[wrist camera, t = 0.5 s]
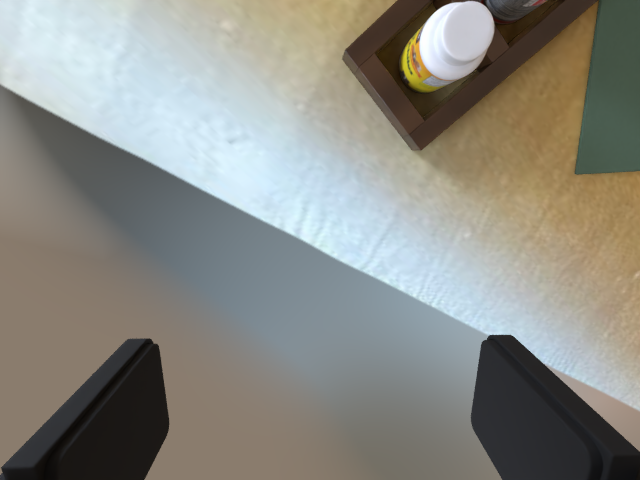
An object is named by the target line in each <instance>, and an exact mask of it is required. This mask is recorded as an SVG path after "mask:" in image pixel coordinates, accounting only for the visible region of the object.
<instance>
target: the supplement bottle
mask: <svg viewBox="0 0 640 480" xmlns="http://www.w3.org/2000/svg"><path fill="white" fill-rule="evenodd" d="M493 35H494V20H493V17H492V14H491V13H490V11H489V10H488V8H487V7H486V6H484V5H483V4H481V3H479V2H476V1H466V2H463V3H462V2H456V3H450V4H447V5H445V6H443V7H441V8H440V9H438V10H437V11H436V12H435V13H434V14H433V15H432V16H431V17H430V18H429V19H428V20H427V21H426V22H425V23H424V25H423V26H422V27H421V28H420V29H419V30H418V31H417V32H416V34H415V35H414V36H413V37H412V38H411V39H410V41H409V42H408V43H407V44H406V45H405V47H404V49H403V51H402V53H401V55H400V59H399V72H400V76H401V79H402V81H403V82H404V84H405V85H406V86H407V87H408V88H409V89H411V90H412V91H414V92H417V93H430V92H434V91H436V90H438V89H440V88H442V87H444V86H446V85H448V84H450V83H452V82H454V81H456V80H459V79H461V78H463V77H465V76H467V75H468V74H470V73H471V72H472V71H474V70H475V69H476V68H477V67H478V66H479V64H480V63H481V62H482V60H483V58H484V57H485V55H486V52H487V49H488V47H489V46H490V44H491V42H492V39H493Z"/></svg>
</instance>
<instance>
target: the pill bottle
mask: <svg viewBox="0 0 640 480" xmlns="http://www.w3.org/2000/svg"><path fill="white" fill-rule="evenodd" d="M546 1H548V0H480V2H481V3H482V4H483V5H484V6H486V7H487V8H488V10H489V11H490V13H491V14H492V17H493V20H494V23H498V24H509V23H513V22H515V21H517V20H519V19H521V18H522V17H524V16H525V15H527V14H528V13H530V12H531V11H533V10H534V9H536V8H537V7H539V6H540V5H542V4H543V3H545V2H546Z"/></svg>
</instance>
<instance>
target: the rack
mask: <svg viewBox="0 0 640 480" xmlns="http://www.w3.org/2000/svg"><path fill="white" fill-rule="evenodd" d="M466 1H476V2H479V3H481V2H480V0H397V1H396V2H395V3H394V4H393V5H392V6H391V7H390V8H389V9H388V10H387V11H386V12H385V13H384V14H383V15H382V16H381V17H379V18H378V19H377V20H376V21H375V22H374V23H373V24H372V25H371V26H370V27H369V28H368V29H367V30H366V31H365V32H364V33H363V34H361V35H360V36H359V37H358V38H357V39H356V40H355V41H354V42H353V43H352V44H351V45H350V46H349V47H348V48H347V49H346V50H345V52H344V55H343V58H342V60H343V61H344V62H345V64H346V65H347V66H348V67H349V69H350V70H351V71H352V73H353V74H354V75H355V77H356V78H357V79H358V81H359V82H360V83H361V85H362V86H363V87H364V88H365V90H366V91H367V92H368V94H369V95H370V96H371V98H372V99H373V100H374V102H375V103H376V104H377V105H378V107H379V108H380V109H381V111H382V112H383V113H384V115H385V116H386V117H387V119H388V120H389V121H390V122H391V124H392V125H393V126H394V128H395V129H396V130H397V132H398V133H399V134H400V135H401V136H402V138H403V139H404V141H405V142H406V143H407V145H408V146H409V147H410V148H411V150H412V151H416V150H422V149H423V148H424V147H426V146H427V145H428V144H429V143H430V142H431V141H433V140H434V139H435V138H436V137H437V136H438V135H440V134H441V133H442V132H443V131H444V130H446V129H447V128H448V127H449V126H450V125H451V124H453V123H454V122H455V121H456V120H457V119H459V118H460V117H461V116H462V115H463V114H464V113H466V112H467V111H468V110H469V109H470V108H471V107H473V106H474V105H475V104H476V103H477V102H479V101H480V100H481V99H482V98H483V97H484V96H486V95H487V94H488V93H489V92H490V91H492V90H493V89H494V88H495V87H496V86H497V85H499V84H500V83H501V82H502V81H503V80H504V79H506V78H507V77H508V76H509V75H510V74H512V73H513V72H514V71H515V70H516V69H517V68H519V67H520V66H521V65H522V64H523V63H524V62H526V61H527V60H528V59H529V58H530V57H532V56H533V55H534V54H535V53H536V52H537V51H539V50H540V49H541V48H542V47H543V46H545V45H546V44H547V43H548V42H549V41H550V40H552V39H553V38H554V37H555V36H556V35H557V34H559V33H560V32H561V31H562V30H563V29H565V28H566V27H567V26H568V25H569V24H570V23H572V22H573V21H574V20H575V19H576V18H577V17H579V16H580V15H581V14H582V13H583V12H585V11H586V10H587V9H588V8H589V7H590V6H592V5H593V4H594V3H595V2H596V1H598V0H558V1H557V2H556V3H555V4H554V5H552V6H551V7H550V8H549V9H548V10H547V11H546V12H544V13H543V14H542V15H541V16H540V17H539V18H537V19H536V20H535V21H534V22H533V23H532V24H531V25H529V26H528V27H527V28H526V29H525V30H524V31H522V32H521V33H520V34H519V35H518V36H517V37H516V38H514V39H513V40H512V41H511V42H510V43H509V44H507V43H506V41H505V40H504V38H503V37H502V35H501V33H500V32H499V30H498V29H497V27H496V26H495V24H494V35H493V39H492V42H491V44H490V46H489V47H488V49H487V52H486V55H485V57H484V58H483V60H482V62H481V63H480V64H479V66H478V67H477V68H476V69H477V71H476V72H475V73H474V74H473V75H472V76H470V77H469V78H468V79H467V80H466V81H465V82H464V83H462V84H461V85H460V86H459V87H458V88H457V89H455V90H454V91H453V92H452V93H451V94H450V95H449V96H447V97H446V98H445V99H444V100H443V101H442V102H440V103H439V104H438V105H437V106H436V107H435V108H434V109H432V110H431V111H430V112H429V113H428V114H427V115H425V116H424V117H423V118H422V117H421V115H420V114H419V113H418V111H417V110H416V109H415V107H414V106H413V104H412V103H411V102H410V100H409V99H408V98H407V96H406V95H405V94H404V92H403V91H402V90H401V88H400V87H399V85H398V84H397V83H396V81H395V80H394V79H393V77H392V76H391V75H390V73H389V72H388V71H387V69H386V68H385V67H384V65H383V64H382V62H381V61H380V60H379V58H378V57H377V56H376V55H377V54H378V53H379V52H380V51H381V50H382V49H383V48H384V47H385V46H386V45H387V44H389V43H390V42H391V41H392V40H393V39H394V38H395V37H396V36H397V35H398V34H399V33H400V32H401V31H403V30H404V29H405V28H406V27H407V26H408V25H409V24H410V23H411V22H412V21H413V20H414V19H416V18H417V17H418V16H419V15H420V14H421V13H422V12H423V11H424V10H425V9H426V8H427V7H429V6H430V5H431V4H432V3H433V5H434V6H435V8H436V9H437V10H438V9H440V8H441V7H443V6H445V5H447V4H450V3H456V2H462V3H463V2H466ZM481 4H482V3H481Z"/></svg>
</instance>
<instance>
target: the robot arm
mask: <svg viewBox="0 0 640 480" xmlns="http://www.w3.org/2000/svg"><path fill="white" fill-rule="evenodd" d="M471 422H472V426H473V429H474V431H475V433H476V435H477V436H478V438H479V440H480V442H481V444H482V445H483V447H484V449H485V450H486V452H487V454H488V456H489V457H490V459H491V461H492V462H493V464H494V466H495V467H496V469H497V471H498V473H499V474H500V476H501V478H502V480H640V452H639V451H638V450H637V449H636V448H635V447H634V446H633V445H632V444H631V443H629V442H628V441H627V440H626V439H625V438H624V437H623V436H622V435H621V434H620V433H618V432H617V431H616V430H615V429H614V428H613V427H612V426H611V425H610V424H609V423H607V422H606V421H605V420H604V419H603V418H602V417H601V416H600V415H599V414H598V413H597V412H596V411H594V410H593V409H592V408H591V407H590V406H589V405H588V404H587V403H586V402H585V401H583V400H582V399H581V398H580V397H579V396H578V395H577V394H576V393H575V392H573V390H571V389H570V388H569V387H568V386H567V385H566V384H565V383H564V382H563V381H562V380H560V379H559V378H558V377H557V376H556V375H555V374H554V373H553V372H552V371H550V369H548V368H547V367H546V366H545V365H544V364H543V363H542V362H541V361H540V360H539V359H538V358H536V357H535V356H534V355H533V354H532V353H531V352H530V351H529V350H528V349H527V348H525V347H524V346H523V345H522V344H521V343H520V342H519V341H518V340H517V339H516V338H515V337H513V336H512V335H490V336H488V338H487V340H484V341H483V342H482V344H481V351H480V358H479V364H478V371H477V379H476V385H475V392H474V399H473V406H472V413H471ZM168 429H169V417H168V409H167V401H166V394H165V387H164V380H163V373H162V365H161V357H160V351H159V346H158V345H157V344H153V341H152V340H151V339H128V340H127V341H125V342H124V343H123V344H122V345H121V346H120V347H119V348H118V349H117V350H116V351H115V352H114V354H113V355H111V356H110V358H108V360H107V361H106V362H105V363H104V364H103V365H102V366H101V367H100V368H99V369H98V370H97V371H96V372H95V373H94V374H93V375H92V376H91V377H90V378H89V379H88V380H87V381H86V382H85V383H84V384H83V385H82V386H81V387H80V388H79V389H78V390H77V391H76V392H75V393H74V394H73V395H72V396H71V397H70V398H69V399H68V400H67V401H66V402H65V403H64V404H63V405H62V406H61V407H60V408H59V409H58V410H57V411H56V412H55V414H53V415H52V417H51V418H50V419H49V420H48V421H47V422H46V423H45V424H44V425H43V426H42V427H41V428H40V429H39V430H38V431H37V432H36V433H35V434H34V435H33V436H32V437H31V438H30V439H29V440H28V441H27V442H26V443H25V444H24V445H23V446H22V447H21V448H20V449H19V450H18V451H17V452H16V453H15V454H14V455H13V456H12V457H11V458H10V459H9V460H8V461H7V462H6V463H5V464H4V465H3V466H2V467H1V468H2V472H3V473H2V474H1V475H0V480H144V479H145V477H146V475H147V473H148V471H149V470H150V467H151V466H152V464H153V462H154V460H155V458H156V456H157V454H158V452H159V450H160V448H161V446H162V444H163V442H164V440H165V438H166V436H167V433H168Z"/></svg>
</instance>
